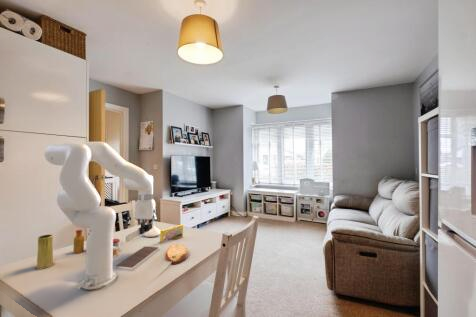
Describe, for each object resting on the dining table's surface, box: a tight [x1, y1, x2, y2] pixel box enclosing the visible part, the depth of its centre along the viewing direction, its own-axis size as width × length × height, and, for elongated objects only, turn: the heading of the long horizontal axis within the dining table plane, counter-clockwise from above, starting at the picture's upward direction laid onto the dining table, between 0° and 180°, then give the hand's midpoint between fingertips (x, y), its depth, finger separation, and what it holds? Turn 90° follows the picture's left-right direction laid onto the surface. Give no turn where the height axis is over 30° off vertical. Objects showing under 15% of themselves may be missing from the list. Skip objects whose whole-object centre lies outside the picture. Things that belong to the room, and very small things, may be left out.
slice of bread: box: [165, 243, 189, 265], centre depth 119 cm, size 18×18×4 cm
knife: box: [125, 223, 152, 243], centre depth 115 cm, size 21×2×3 cm, turn 171°
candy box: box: [159, 224, 184, 243], centre depth 141 cm, size 16×2×8 cm, turn 143°
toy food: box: [72, 229, 121, 256], centre depth 122 cm, size 27×13×12 cm, turn 73°
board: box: [115, 246, 159, 269], centre depth 115 cm, size 24×9×1 cm, turn 171°
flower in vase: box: [142, 200, 161, 238], centre depth 150 cm, size 13×11×25 cm
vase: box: [35, 234, 54, 270], centre depth 105 cm, size 6×6×14 cm
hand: (145, 230), depth 120 cm, fingers closed on knife, 2 cm apart
